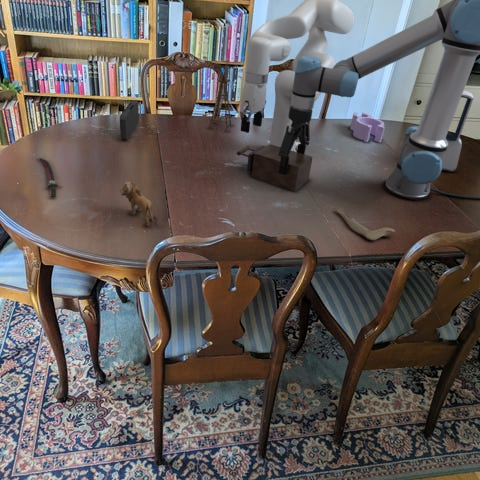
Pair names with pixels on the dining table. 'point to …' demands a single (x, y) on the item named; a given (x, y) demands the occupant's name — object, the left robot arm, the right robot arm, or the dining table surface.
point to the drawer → (249, 156)
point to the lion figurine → (137, 201)
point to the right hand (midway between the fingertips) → (291, 167)
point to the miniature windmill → (224, 81)
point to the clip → (367, 127)
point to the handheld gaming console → (129, 119)
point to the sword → (52, 181)
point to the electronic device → (456, 138)
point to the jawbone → (362, 230)
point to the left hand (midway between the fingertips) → (251, 128)
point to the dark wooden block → (269, 164)
